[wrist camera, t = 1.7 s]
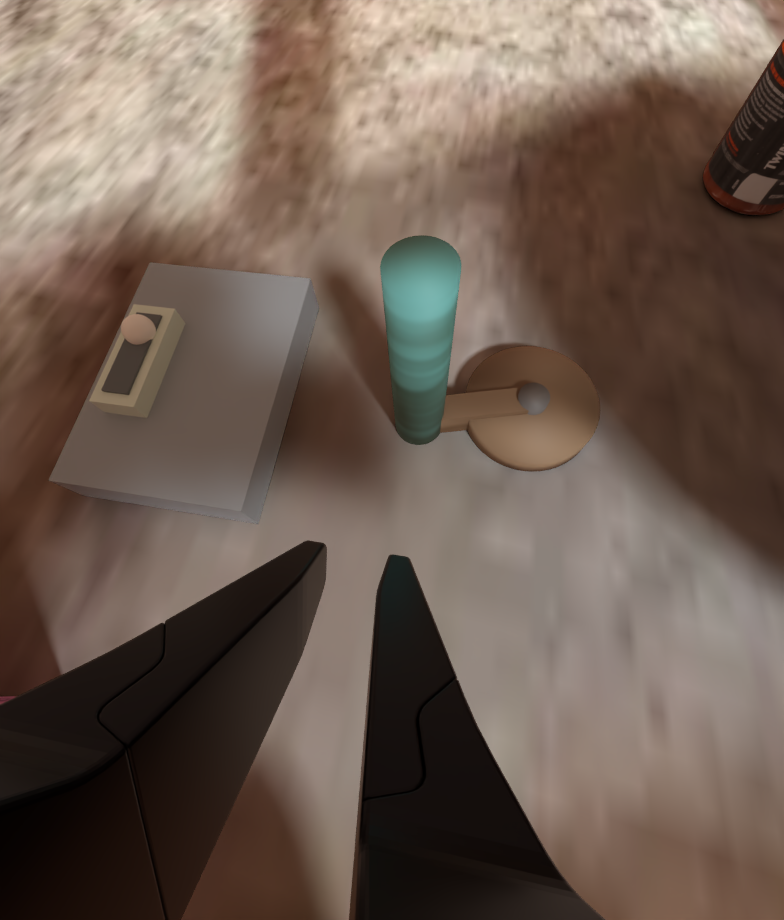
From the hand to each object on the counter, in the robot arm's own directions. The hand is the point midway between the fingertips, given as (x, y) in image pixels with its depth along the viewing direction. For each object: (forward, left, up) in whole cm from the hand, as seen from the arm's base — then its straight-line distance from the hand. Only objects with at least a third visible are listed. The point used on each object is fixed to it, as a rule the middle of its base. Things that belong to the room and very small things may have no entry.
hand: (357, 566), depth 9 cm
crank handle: (+9, -8, -14) cm, 18 cm away
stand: (+14, +8, -14) cm, 21 cm away
